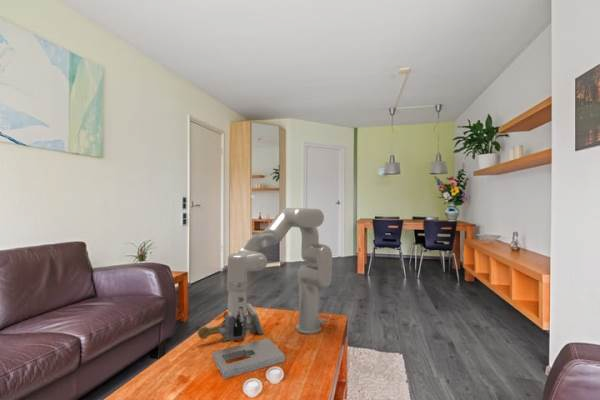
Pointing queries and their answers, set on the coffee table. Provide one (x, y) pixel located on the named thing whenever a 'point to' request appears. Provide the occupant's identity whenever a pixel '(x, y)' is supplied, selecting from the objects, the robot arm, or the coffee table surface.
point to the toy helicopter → (215, 329)
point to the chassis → (258, 352)
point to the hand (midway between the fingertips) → (235, 332)
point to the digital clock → (253, 320)
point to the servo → (229, 327)
